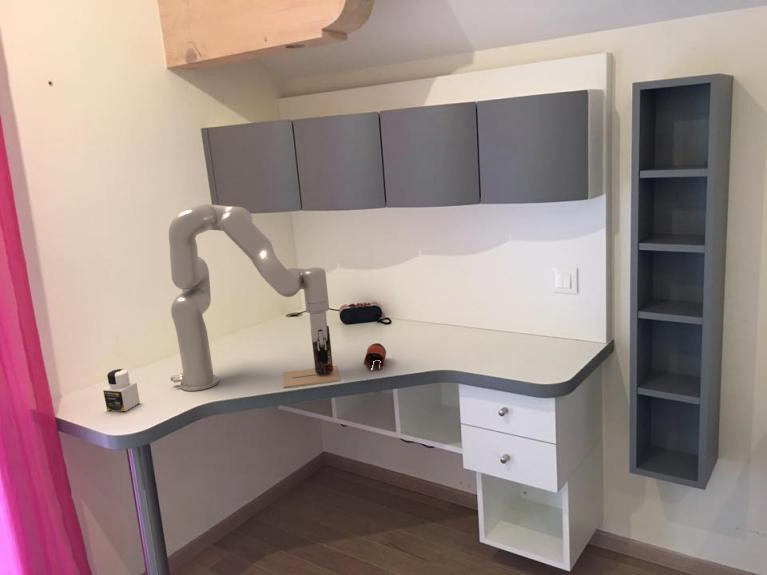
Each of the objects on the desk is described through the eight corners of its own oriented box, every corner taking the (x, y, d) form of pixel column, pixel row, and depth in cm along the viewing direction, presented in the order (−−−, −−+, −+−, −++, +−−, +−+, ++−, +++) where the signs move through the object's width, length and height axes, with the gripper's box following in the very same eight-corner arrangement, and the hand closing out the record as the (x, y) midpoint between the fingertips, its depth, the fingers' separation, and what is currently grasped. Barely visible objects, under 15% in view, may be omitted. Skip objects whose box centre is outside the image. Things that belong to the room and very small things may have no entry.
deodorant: (328, 374, 213) (324, 330, 210) (312, 373, 215) (307, 330, 212) (336, 368, 219) (331, 325, 215) (320, 367, 221) (315, 325, 217)
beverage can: (387, 359, 229) (386, 341, 227) (385, 371, 217) (383, 352, 216) (367, 360, 229) (365, 342, 228) (364, 372, 218) (362, 353, 216)
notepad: (283, 388, 209) (283, 386, 209) (283, 373, 223) (283, 371, 222) (339, 381, 211) (339, 379, 211) (336, 367, 225) (336, 365, 225)
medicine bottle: (106, 410, 203) (99, 374, 200) (122, 401, 209) (116, 366, 207) (124, 412, 200) (117, 375, 198) (140, 403, 207) (134, 367, 204)
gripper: (305, 301, 220) (310, 352, 224) (306, 313, 203) (312, 368, 207) (327, 298, 221) (332, 349, 225) (330, 311, 204) (336, 365, 208)
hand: (322, 358), depth 216 cm, fingers closed on deodorant, 5 cm apart
